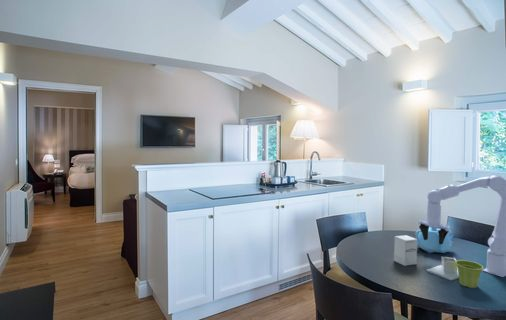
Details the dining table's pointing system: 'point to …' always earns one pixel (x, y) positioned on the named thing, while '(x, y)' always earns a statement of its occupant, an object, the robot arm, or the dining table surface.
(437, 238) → the decorative pot
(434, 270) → the duct plate
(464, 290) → the dining table surface
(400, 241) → the supplement box
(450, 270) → the white boxy piece
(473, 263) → the plant pot
